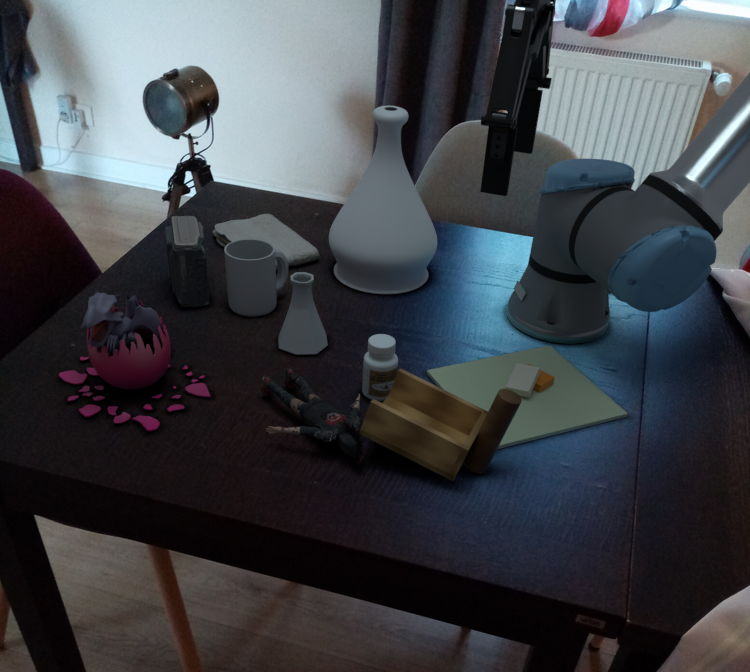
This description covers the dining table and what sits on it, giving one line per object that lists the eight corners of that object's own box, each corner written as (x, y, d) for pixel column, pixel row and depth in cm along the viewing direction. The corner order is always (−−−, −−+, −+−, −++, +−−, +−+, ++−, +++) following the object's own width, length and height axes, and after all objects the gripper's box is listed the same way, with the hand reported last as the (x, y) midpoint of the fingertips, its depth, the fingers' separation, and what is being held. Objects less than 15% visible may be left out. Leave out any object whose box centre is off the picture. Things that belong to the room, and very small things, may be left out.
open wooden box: (358, 433, 89) (386, 359, 83) (388, 398, 97) (415, 328, 91) (474, 492, 87) (511, 421, 81) (495, 451, 95) (530, 384, 89)
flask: (321, 360, 107) (321, 293, 101) (270, 352, 108) (267, 285, 102) (333, 334, 113) (335, 269, 106) (285, 327, 114) (283, 262, 107)
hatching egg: (39, 373, 102) (12, 276, 93) (152, 335, 110) (137, 242, 101) (113, 448, 91) (91, 346, 82) (232, 399, 99) (224, 302, 90)
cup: (219, 302, 118) (214, 245, 112) (275, 286, 123) (273, 230, 117) (245, 322, 114) (241, 264, 108) (301, 304, 119) (300, 248, 113)
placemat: (549, 348, 113) (549, 344, 113) (626, 417, 101) (628, 413, 101) (426, 373, 106) (426, 369, 106) (493, 450, 94) (494, 446, 94)
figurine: (320, 342, 101) (415, 414, 89) (321, 381, 105) (412, 455, 93) (227, 371, 95) (315, 452, 83) (231, 411, 99) (316, 495, 86)
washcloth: (268, 224, 141) (267, 207, 139) (322, 262, 130) (322, 244, 128) (208, 237, 135) (206, 220, 133) (260, 278, 125) (259, 260, 123)
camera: (211, 308, 117) (205, 244, 110) (171, 310, 115) (163, 245, 109) (207, 274, 125) (201, 212, 118) (170, 276, 124) (162, 213, 117)
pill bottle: (371, 405, 100) (374, 352, 95) (356, 387, 103) (358, 335, 98) (401, 397, 102) (406, 345, 96) (385, 380, 104) (389, 329, 99)
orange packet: (528, 363, 106) (527, 370, 107) (514, 371, 104) (512, 379, 105) (555, 376, 104) (553, 384, 105) (540, 385, 102) (539, 393, 103)
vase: (315, 287, 123) (315, 117, 107) (344, 243, 136) (348, 86, 120) (422, 304, 121) (439, 133, 104) (442, 258, 134) (460, 99, 117)
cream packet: (539, 367, 102) (540, 373, 103) (516, 362, 104) (516, 369, 105) (528, 391, 100) (529, 397, 101) (505, 386, 102) (505, 393, 103)
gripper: (529, -86, 80) (499, 131, 95) (469, -55, 63) (443, 206, 77) (602, -80, 79) (560, 141, 93) (562, -46, 61) (518, 219, 75)
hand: (507, 171), depth 85 cm, fingers open, 13 cm apart
